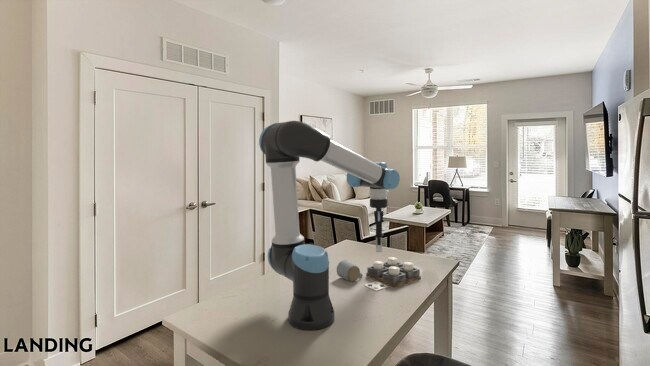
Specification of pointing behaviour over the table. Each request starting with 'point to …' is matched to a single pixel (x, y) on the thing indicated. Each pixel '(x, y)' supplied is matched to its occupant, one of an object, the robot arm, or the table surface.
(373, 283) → the card
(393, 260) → the button far left
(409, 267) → the button far right
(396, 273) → the button near right
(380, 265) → the button near left
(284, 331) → the table surface
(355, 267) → the ceramic mug
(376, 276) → the button board
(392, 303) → the table surface
